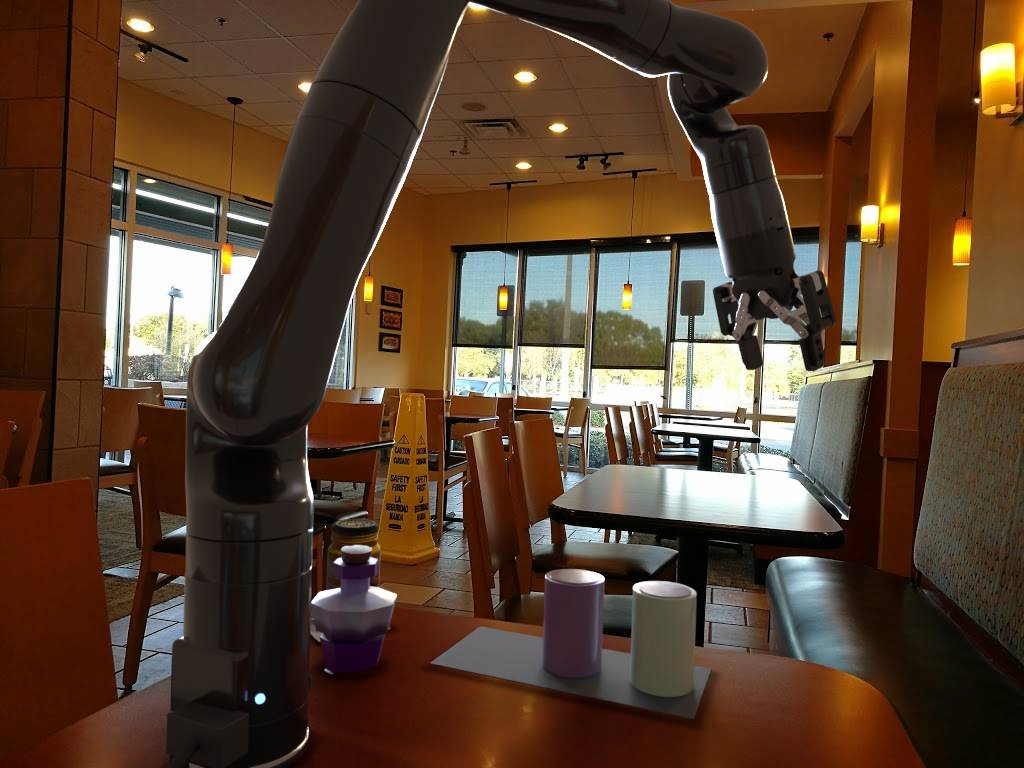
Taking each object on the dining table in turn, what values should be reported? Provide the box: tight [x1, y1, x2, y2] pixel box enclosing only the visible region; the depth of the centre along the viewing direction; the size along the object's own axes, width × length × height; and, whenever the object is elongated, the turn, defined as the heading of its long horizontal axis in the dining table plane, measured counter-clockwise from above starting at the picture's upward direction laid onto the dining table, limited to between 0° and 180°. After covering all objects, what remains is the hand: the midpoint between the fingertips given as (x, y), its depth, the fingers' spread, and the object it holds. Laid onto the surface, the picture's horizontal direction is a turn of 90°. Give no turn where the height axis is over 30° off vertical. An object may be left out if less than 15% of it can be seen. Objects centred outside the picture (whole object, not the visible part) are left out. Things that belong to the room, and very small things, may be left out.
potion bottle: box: [311, 545, 398, 676], centre depth 73 cm, size 9×9×12 cm
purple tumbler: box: [542, 568, 606, 678], centre depth 73 cm, size 6×6×9 cm
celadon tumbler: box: [629, 580, 698, 697], centre depth 70 cm, size 6×6×9 cm
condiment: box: [310, 518, 392, 643], centre depth 84 cm, size 7×8×12 cm
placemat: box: [429, 625, 713, 720], centre depth 73 cm, size 12×26×1 cm, turn 67°
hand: (784, 368), depth 82 cm, fingers open, 8 cm apart
